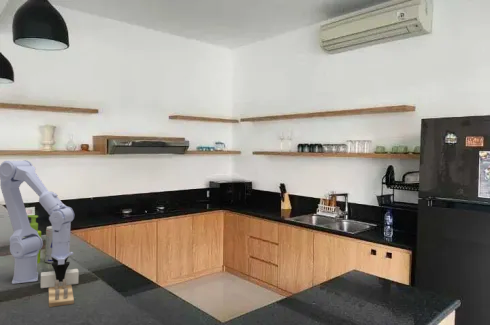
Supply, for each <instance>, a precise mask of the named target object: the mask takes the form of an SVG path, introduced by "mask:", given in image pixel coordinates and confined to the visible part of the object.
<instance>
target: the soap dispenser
mask: <svg viewBox="0 0 490 325" xmlns="http://www.w3.org/2000/svg"><path fill="white" fill-rule="evenodd" d="M27 216H28V218H31V220H30V222H29V223H30V226H31V228H33V229H35V230H36V231H37V232H38V235H39V236H40V237H41V238H42V231H41V230H39V223H38V222H37V218H39V215H37V214H36V215H35V214H34V215H33V214H30V215H29V214H27ZM24 238H26V237H24ZM41 249H42V248H41ZM41 249H40V250H39V253H38V254H37V255H38V256H37V265H39V264H40V263H41Z"/></svg>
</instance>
